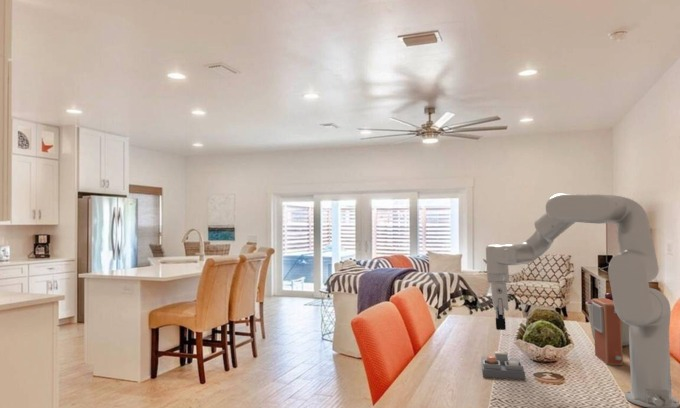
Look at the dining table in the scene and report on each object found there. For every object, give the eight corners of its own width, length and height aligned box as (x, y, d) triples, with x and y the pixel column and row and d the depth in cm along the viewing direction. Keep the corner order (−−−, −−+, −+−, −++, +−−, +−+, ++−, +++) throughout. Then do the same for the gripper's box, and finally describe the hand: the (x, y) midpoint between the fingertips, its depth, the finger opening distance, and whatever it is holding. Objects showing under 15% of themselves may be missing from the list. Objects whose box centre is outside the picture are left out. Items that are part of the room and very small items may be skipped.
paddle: (507, 363, 161) (507, 353, 161) (495, 362, 162) (495, 353, 162) (507, 361, 163) (507, 352, 163) (495, 360, 164) (494, 351, 164)
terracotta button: (496, 363, 156) (496, 358, 156) (486, 362, 157) (486, 358, 157) (496, 360, 159) (496, 356, 159) (486, 360, 160) (486, 355, 160)
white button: (519, 368, 154) (519, 363, 154) (508, 367, 155) (508, 362, 155) (518, 365, 157) (518, 360, 157) (508, 364, 158) (508, 360, 158)
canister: (628, 339, 201) (626, 290, 202) (644, 350, 184) (642, 296, 185) (582, 337, 206) (580, 289, 207) (593, 348, 188) (591, 295, 189)
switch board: (524, 379, 151) (524, 367, 152) (483, 376, 155) (482, 365, 155) (519, 366, 166) (519, 355, 166) (481, 363, 169) (481, 353, 169)
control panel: (611, 354, 178) (626, 366, 164) (591, 354, 180) (605, 365, 165) (608, 298, 180) (624, 304, 165) (589, 297, 181) (602, 304, 166)
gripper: (510, 280, 163) (513, 333, 161) (507, 276, 177) (510, 325, 176) (488, 280, 165) (491, 333, 163) (486, 276, 179) (489, 325, 178)
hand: (500, 329), depth 169 cm, fingers closed
